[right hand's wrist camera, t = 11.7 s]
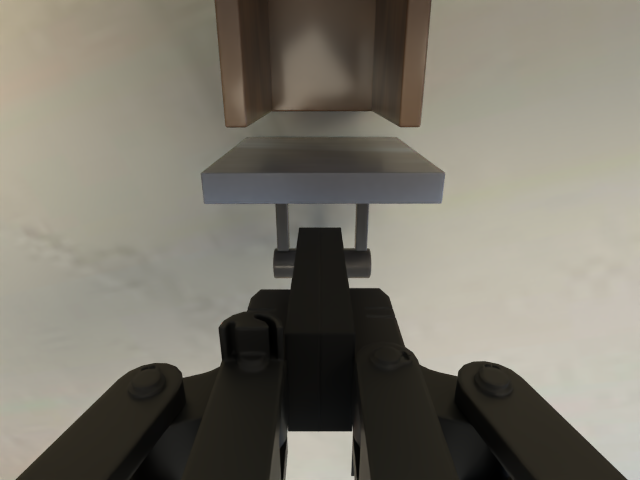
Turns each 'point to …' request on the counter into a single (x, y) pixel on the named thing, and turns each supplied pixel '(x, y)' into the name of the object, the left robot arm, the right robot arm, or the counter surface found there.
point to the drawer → (322, 109)
